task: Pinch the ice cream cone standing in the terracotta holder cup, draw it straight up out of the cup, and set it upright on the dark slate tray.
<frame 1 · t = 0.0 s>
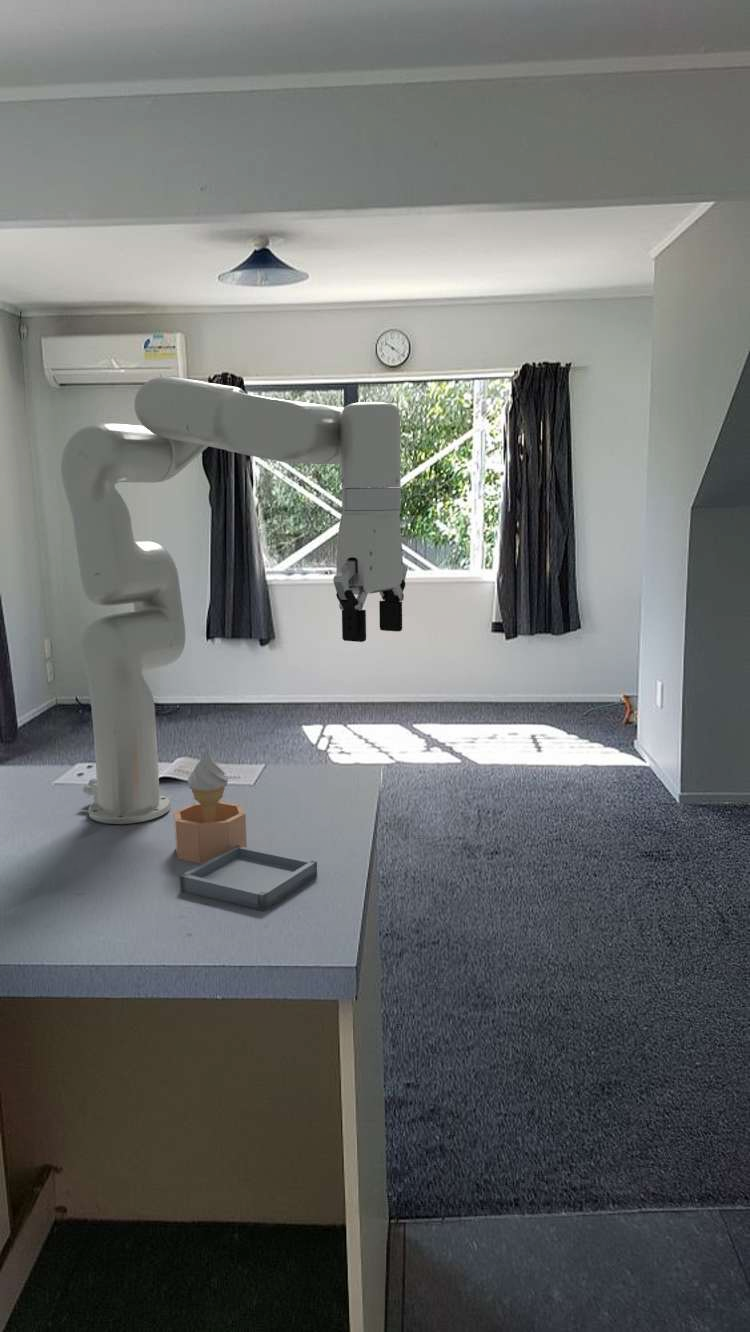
hand: (373, 635, 125), 31 cm above the table, tool pointing down, fingers open, 9 cm apart
ice cream cone: (211, 851, 136), resting in holder cup
slate tray: (249, 883, 124), on the table
holder cup: (211, 849, 136), on the table
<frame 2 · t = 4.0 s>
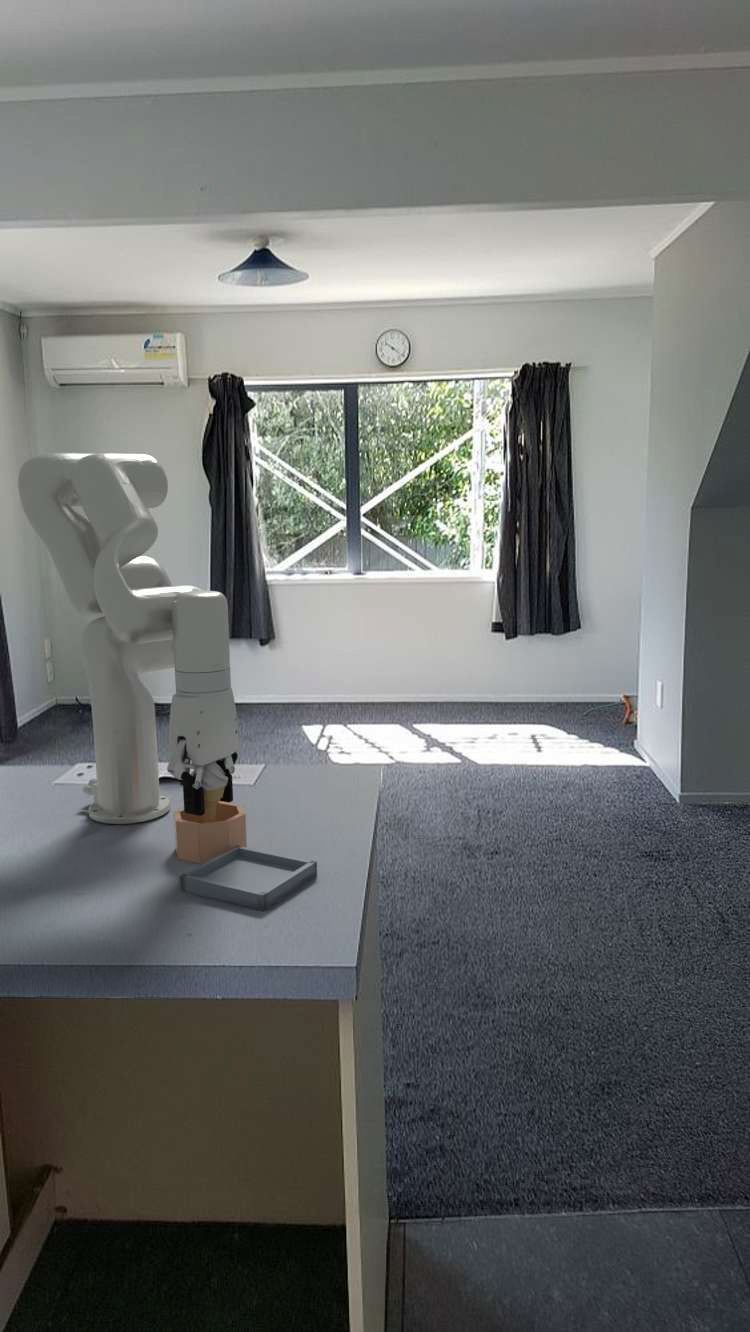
hand: (209, 805, 135), 7 cm above the table, tool pointing down, fingers closed on ice cream cone, 5 cm apart
ice cream cone: (211, 851, 136), resting in holder cup, touching gripper
when the fingers open (9 cm above the table, at t = 11.8 s): ice cream cone drops 1 cm, resting on slate tray.
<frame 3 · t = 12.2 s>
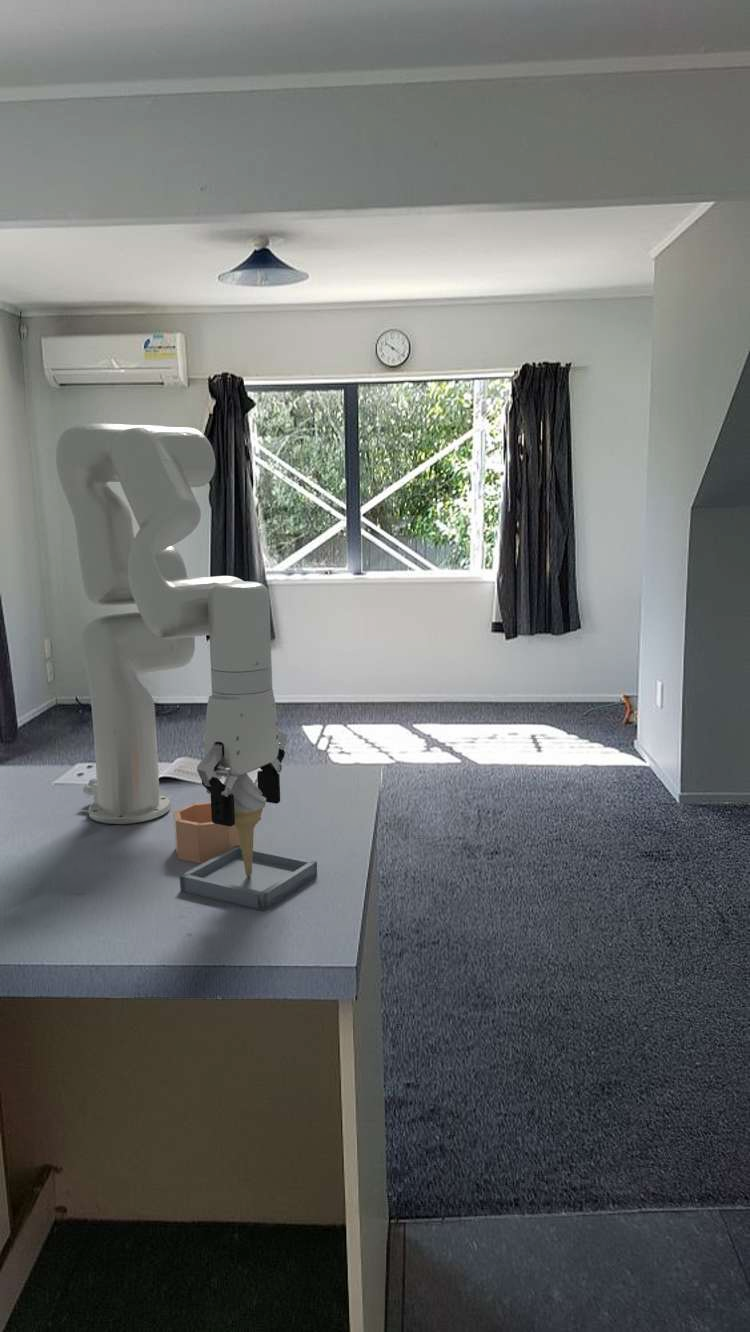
hand: (247, 812, 122), 10 cm above the table, tool pointing down, fingers open, 9 cm apart
ice cream cone: (248, 878, 124), point 1 cm above the table, touching slate tray
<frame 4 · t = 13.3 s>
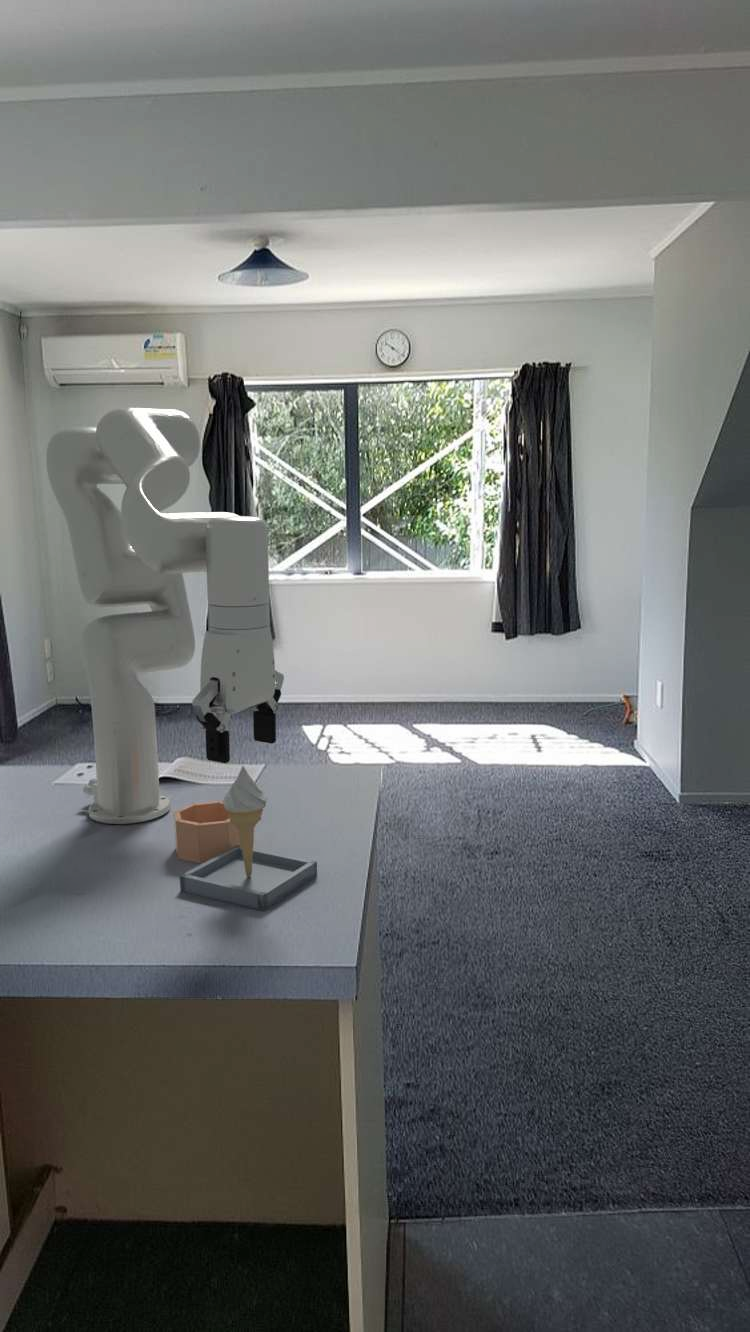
hand: (242, 751, 121), 18 cm above the table, tool pointing down, fingers open, 9 cm apart
nothing on the table moved.
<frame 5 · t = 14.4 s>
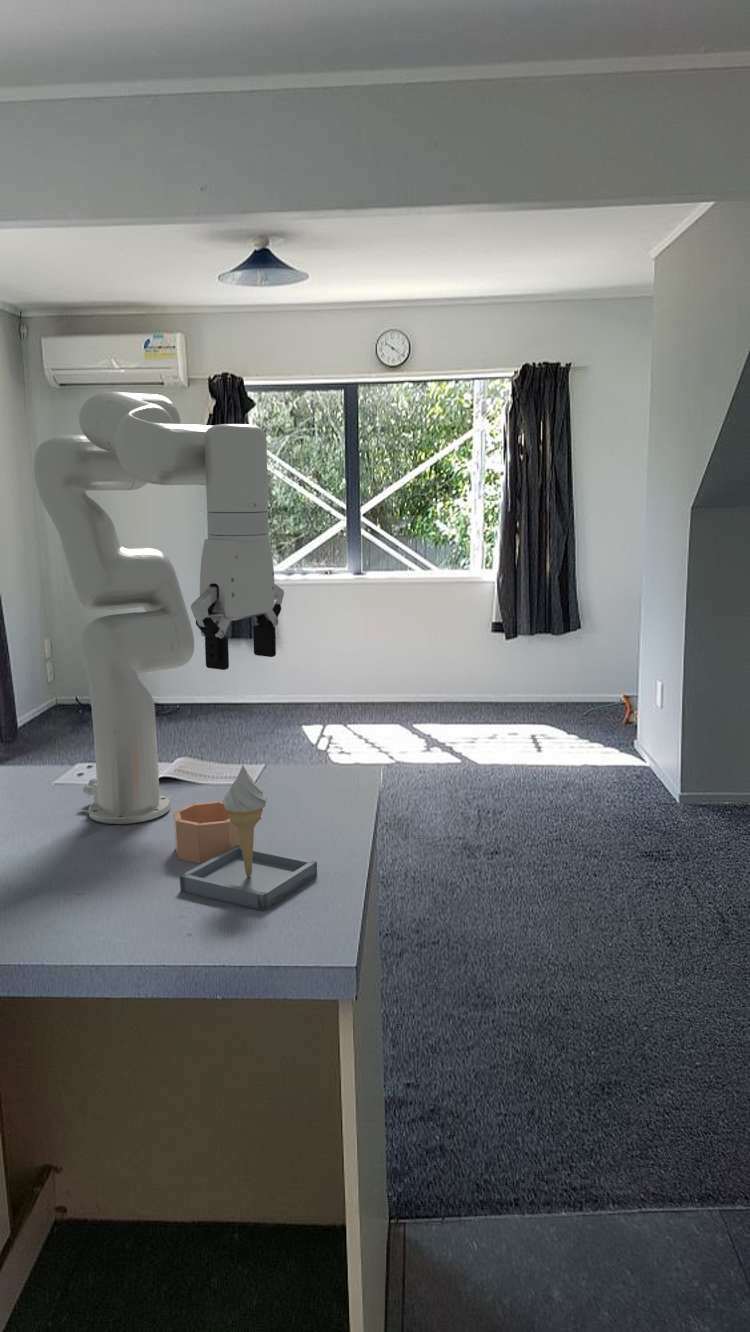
hand: (241, 661, 122), 29 cm above the table, tool pointing down, fingers open, 9 cm apart
nothing on the table moved.
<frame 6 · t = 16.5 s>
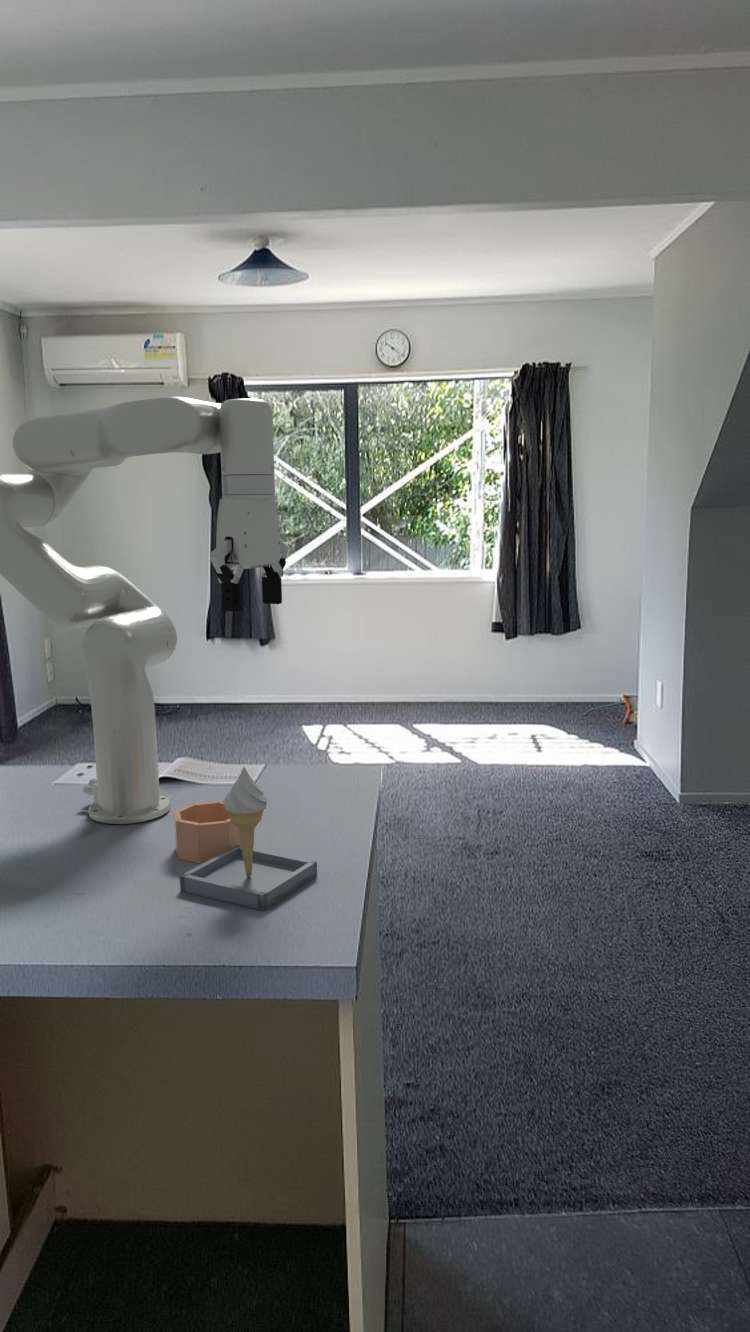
hand: (253, 607, 140), 33 cm above the table, tool pointing down, fingers open, 9 cm apart
nothing on the table moved.
at the end: ice cream cone inside the target area on the slate tray (0.1 cm from its centre), point 0.6 cm above the slate tray's base; ice cream cone tilted 1°; the gripper is holding nothing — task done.
